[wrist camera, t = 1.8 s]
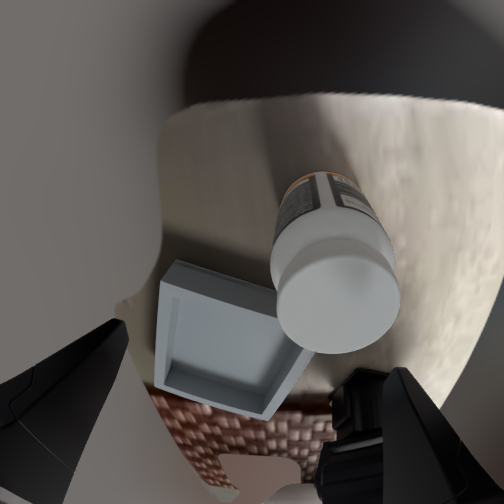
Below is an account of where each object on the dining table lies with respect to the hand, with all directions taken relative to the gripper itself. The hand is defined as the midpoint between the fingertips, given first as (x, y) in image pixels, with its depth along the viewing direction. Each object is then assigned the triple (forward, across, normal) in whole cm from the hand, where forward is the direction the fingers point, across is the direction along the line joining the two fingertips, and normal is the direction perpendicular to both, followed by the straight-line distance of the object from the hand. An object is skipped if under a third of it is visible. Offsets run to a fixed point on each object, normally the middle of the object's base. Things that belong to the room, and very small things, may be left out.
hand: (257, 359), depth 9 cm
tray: (+12, +2, +13) cm, 18 cm away
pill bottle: (+12, -3, 0) cm, 13 cm away
